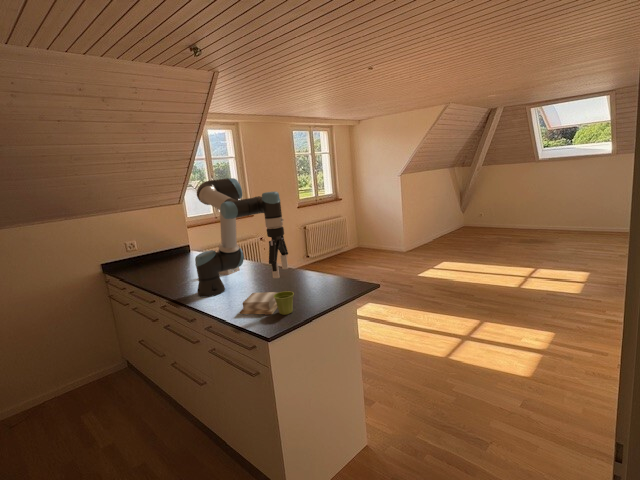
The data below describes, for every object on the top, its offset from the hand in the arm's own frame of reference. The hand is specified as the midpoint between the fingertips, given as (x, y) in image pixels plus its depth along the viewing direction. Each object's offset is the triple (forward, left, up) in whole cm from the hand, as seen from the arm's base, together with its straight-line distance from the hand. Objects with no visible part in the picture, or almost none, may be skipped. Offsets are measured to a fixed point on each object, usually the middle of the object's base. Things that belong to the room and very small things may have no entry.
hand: (281, 273), depth 164 cm
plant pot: (0, 0, -19) cm, 19 cm away
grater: (-62, +71, -19) cm, 96 cm away
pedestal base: (-14, +6, -19) cm, 24 cm away
